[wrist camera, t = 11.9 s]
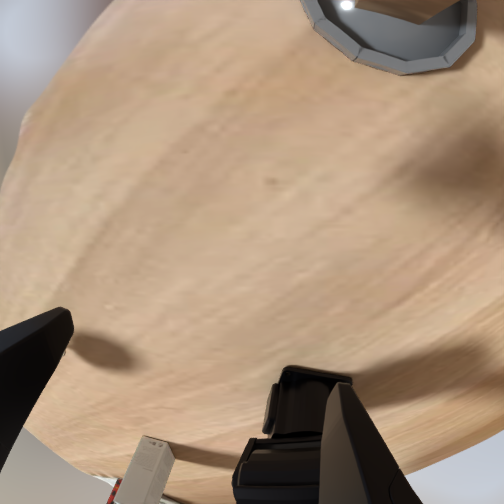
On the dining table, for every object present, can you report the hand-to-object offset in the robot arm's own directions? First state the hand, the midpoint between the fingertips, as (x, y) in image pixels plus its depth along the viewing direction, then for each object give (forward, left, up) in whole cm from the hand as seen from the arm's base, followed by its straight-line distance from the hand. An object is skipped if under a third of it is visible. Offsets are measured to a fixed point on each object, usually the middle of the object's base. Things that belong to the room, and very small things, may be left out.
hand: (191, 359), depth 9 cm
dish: (-5, -16, -13) cm, 22 cm away
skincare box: (+8, +38, -13) cm, 41 cm away
